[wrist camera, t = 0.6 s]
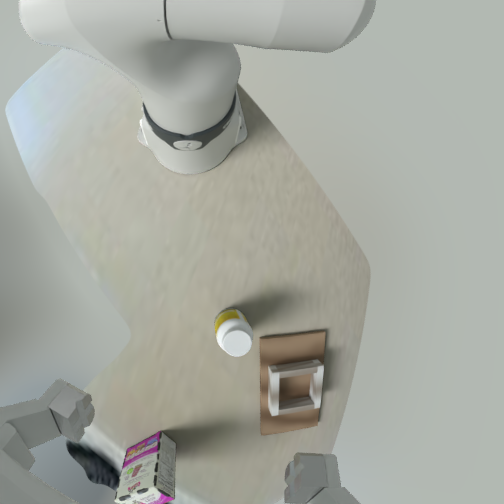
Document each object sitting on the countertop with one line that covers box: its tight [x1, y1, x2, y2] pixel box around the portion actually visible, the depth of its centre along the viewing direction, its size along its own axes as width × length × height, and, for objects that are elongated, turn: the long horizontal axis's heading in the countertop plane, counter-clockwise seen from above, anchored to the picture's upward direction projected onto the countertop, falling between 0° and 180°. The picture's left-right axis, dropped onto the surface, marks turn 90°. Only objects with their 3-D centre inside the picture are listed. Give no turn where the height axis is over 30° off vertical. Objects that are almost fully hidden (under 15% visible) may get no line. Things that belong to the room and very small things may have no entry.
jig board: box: [260, 331, 325, 435], centre depth 47 cm, size 22×12×4 cm, turn 1°
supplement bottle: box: [215, 308, 253, 357], centre depth 41 cm, size 5×5×10 cm
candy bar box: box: [114, 431, 176, 504], centre depth 36 cm, size 11×5×16 cm, turn 127°
